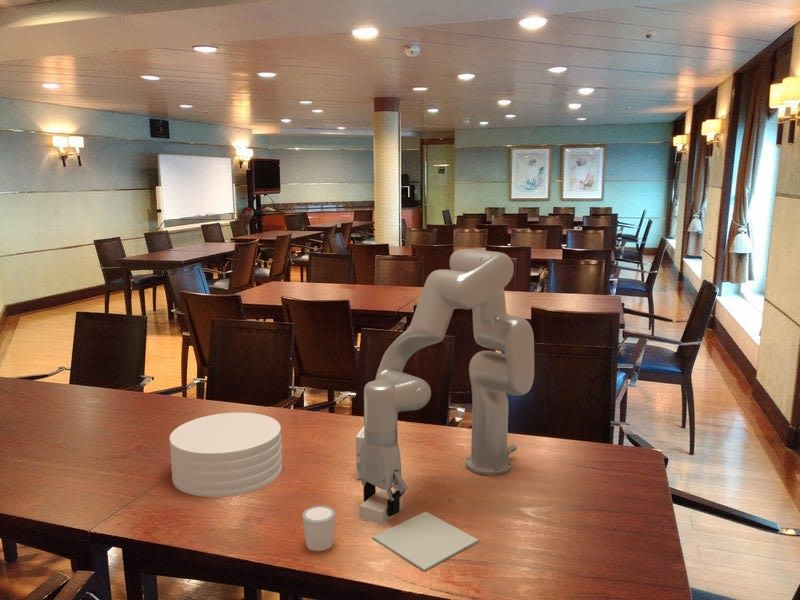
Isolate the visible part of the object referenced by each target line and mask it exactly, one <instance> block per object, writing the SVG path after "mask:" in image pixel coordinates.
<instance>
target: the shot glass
mask: <svg viewBox="0 0 800 600" xmlns="http://www.w3.org/2000/svg"><path fill="white" fill-rule="evenodd" d="M335 519H336V511H335V510H334V508H332V507H330V506H327V505H315V506H310V507H308V508H307V509H305V510H304V511H303V512H302V522H303V523H302V524H303V531H304V540H305V545H306V548H307V547H308V548H307V549H308V550H310V551H313V550H314V551H313V552H323V551H327V550H329V549H330V548H331V547H332V546H333V544H334V535H335V534H334V533H335V523H336V522H335V521H336V520H335ZM326 549H327V550H326Z"/></svg>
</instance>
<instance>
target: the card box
mask: <svg viewBox="0 0 800 600" xmlns="http://www.w3.org/2000/svg"><path fill="white" fill-rule="evenodd" d="M388 499H389V496H388V493H387V491H386V490H382V489H380V490H378V491H376V493H375V494H374V495H372V496H371V497H370V498H368V500H366V501H365V502H364V501H363V502H362V503H361V504H359V519H360V518H362V519H361V520H363V519H365V520H364V521H366V520H368V521H367V522H369V521H371V522H370V523H372V522H374V523H373V524H375V523H377V524H376V525H378V526H383V525H385V524H386V523H387V522H388V521H389V520H391V517H392V516H390V517H389V516H388V515H387V500H388ZM401 510H403V496H402V497H400V511H401ZM394 516H395V515H393V517H394ZM393 517H392V518H393ZM385 522H386V523H385Z"/></svg>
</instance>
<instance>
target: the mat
mask: <svg viewBox="0 0 800 600" xmlns="http://www.w3.org/2000/svg"><path fill="white" fill-rule="evenodd" d="M371 538H372V539H371V540H373V541H375V542H376V543H378V544H380V545H381V546H383V547H384V548H386V549H387V550H389V551H391V552H392V553H394V554H396V555H397V556H398V557H399V558H402V559H404V560H405V561H406V562H408V563H409V564H412V565H413V566H415V567H416V568H417V569H419V570H420V571H422V572H424V573H425V572H426V571H428V570H430V569H432V568H433V567H436V566H438V565H439V564H441V563H442V562H444V561H446V560H449V559H450V558H452V557H453V556H455V555H457V554H459V553H461V552H462V551H464V550H466V549H469V548H470V547H472V546H473V545H475V544H478V543H479V539H478V538H476V537H474V536H473V535H470V534H469V533H467V532H465V531H463V530H461V529H460V528H457V527H455V526H453V525H451V524H449V523H448V522H446V521H445V520H443V519H440V518H439V517H437V516H435V515H433V514H431V513H429V512H427V511H424V512H422V513H420V514H418V515H416V516H413V517H411V518H409V519H407V520H405V521H402V522H400V523H399V524H396V525H395V526H392V527H390V528H387V529H385V530H383V531H381V532H378V533H377V534H375V535H373V536H372V537H371Z"/></svg>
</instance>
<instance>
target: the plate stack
mask: <svg viewBox="0 0 800 600" xmlns="http://www.w3.org/2000/svg"><path fill="white" fill-rule="evenodd" d="M281 429H282V428H281V424H280V423H279V421H278V420H276V419H275V418H273V417H271V416H268V415H265V414H259V413H255V412H225V413H215V414H210V415H205V416H202V417H198V418H194V419H192V420H190V421H186V422H185V423H182V424H181V425H179V426H178V427H176V428H175V429H174V430H172V432H171V433H170V436H169V445H170V449H169V450H170V461H171V463H170V464H171V477H172V478H171V481H172V484H173V486H174V487H175V488H176V489H177V490H179V491H181V492H183V493H185V494H189V495H192V496H196V497H205V498H206V497H207V498H218V497H219V498H221V497H230V496H237V495H242V494H246V493H249V492H253V491H256V490H258V489H261V488H263V487H265V486H268V485H269V484H271V483H272V482H273V481H275V480H276V479H277V478H278V477H279V476H280V475H281V473H282V471H283V460H282V459H283V457H282V434H281V433H282V431H281Z"/></svg>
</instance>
